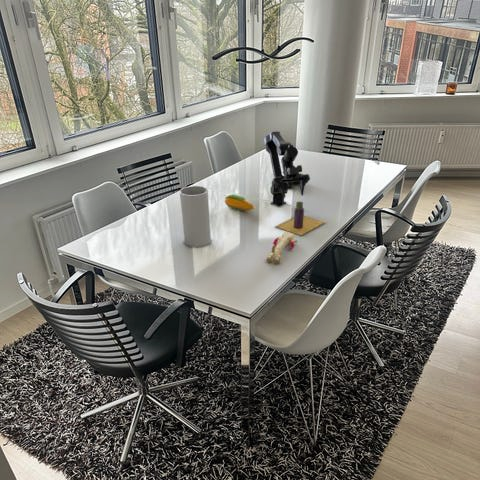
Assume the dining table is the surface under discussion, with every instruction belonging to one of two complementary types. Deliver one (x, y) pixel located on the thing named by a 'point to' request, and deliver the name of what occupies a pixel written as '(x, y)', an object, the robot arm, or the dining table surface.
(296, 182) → the film camera
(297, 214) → the pepper mill
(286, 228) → the mustard yellow board
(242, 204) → the corn
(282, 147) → the robot arm
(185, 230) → the cylinder vase
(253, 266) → the dining table surface
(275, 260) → the beige elongated piece
